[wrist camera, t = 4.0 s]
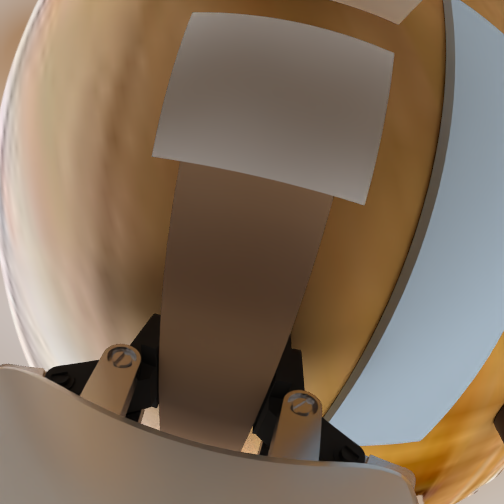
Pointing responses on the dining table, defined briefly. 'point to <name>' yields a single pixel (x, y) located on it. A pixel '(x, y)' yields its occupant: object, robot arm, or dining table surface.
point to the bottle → (500, 423)
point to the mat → (442, 259)
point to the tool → (253, 201)
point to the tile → (384, 8)
